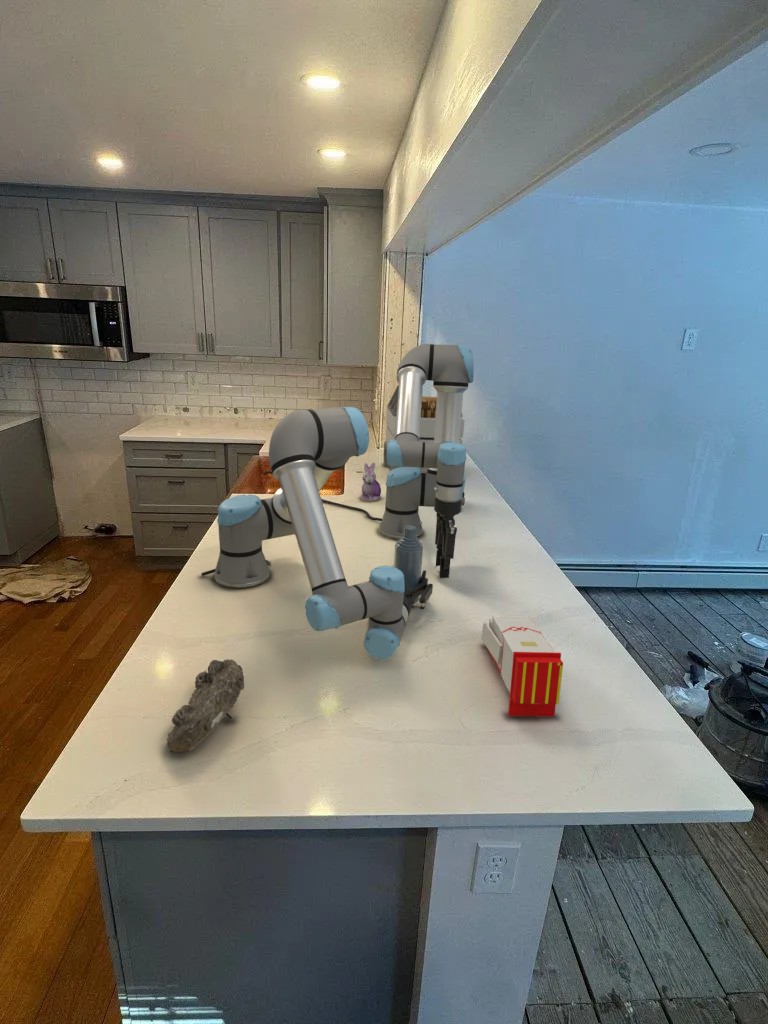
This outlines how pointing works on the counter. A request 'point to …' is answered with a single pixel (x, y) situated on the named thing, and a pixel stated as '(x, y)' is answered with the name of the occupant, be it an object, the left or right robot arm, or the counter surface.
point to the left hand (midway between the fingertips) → (409, 572)
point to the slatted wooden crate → (425, 427)
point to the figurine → (370, 484)
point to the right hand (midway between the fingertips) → (441, 573)
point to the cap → (438, 570)
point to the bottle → (409, 558)
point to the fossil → (206, 705)
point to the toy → (525, 665)
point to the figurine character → (463, 500)
